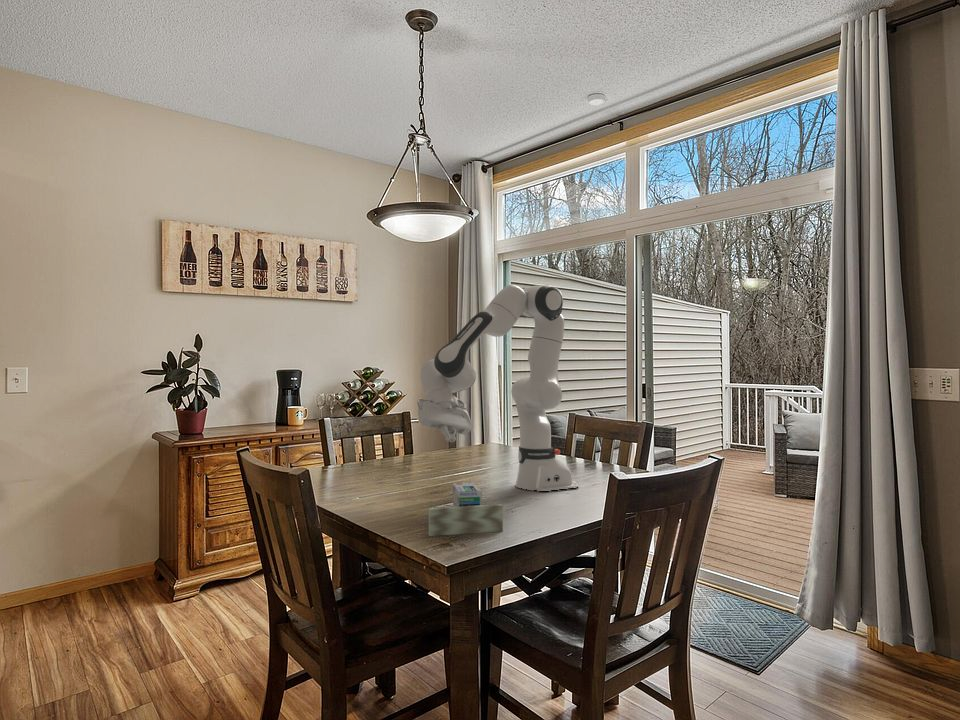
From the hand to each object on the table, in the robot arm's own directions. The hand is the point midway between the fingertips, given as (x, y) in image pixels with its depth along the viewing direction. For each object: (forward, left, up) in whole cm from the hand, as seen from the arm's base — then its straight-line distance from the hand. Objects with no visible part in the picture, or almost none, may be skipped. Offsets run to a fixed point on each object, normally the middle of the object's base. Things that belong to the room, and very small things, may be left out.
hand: (451, 440), depth 180 cm
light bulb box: (-1, +18, -21) cm, 28 cm away
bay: (+1, +19, -21) cm, 28 cm away
